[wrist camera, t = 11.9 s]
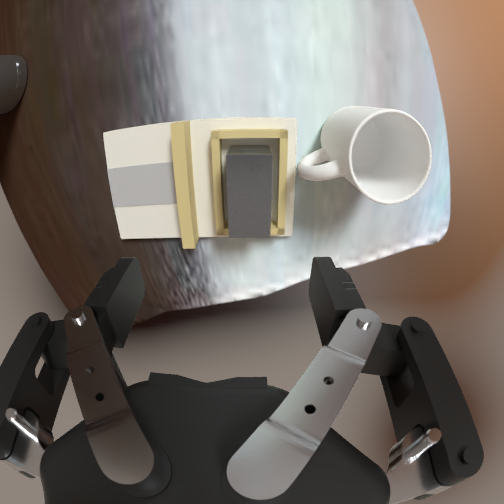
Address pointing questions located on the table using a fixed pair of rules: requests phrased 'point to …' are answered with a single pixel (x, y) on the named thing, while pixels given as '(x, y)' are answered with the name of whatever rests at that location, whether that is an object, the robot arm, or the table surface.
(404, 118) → the mug
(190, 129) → the white fixture board
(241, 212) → the block
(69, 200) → the table surface
